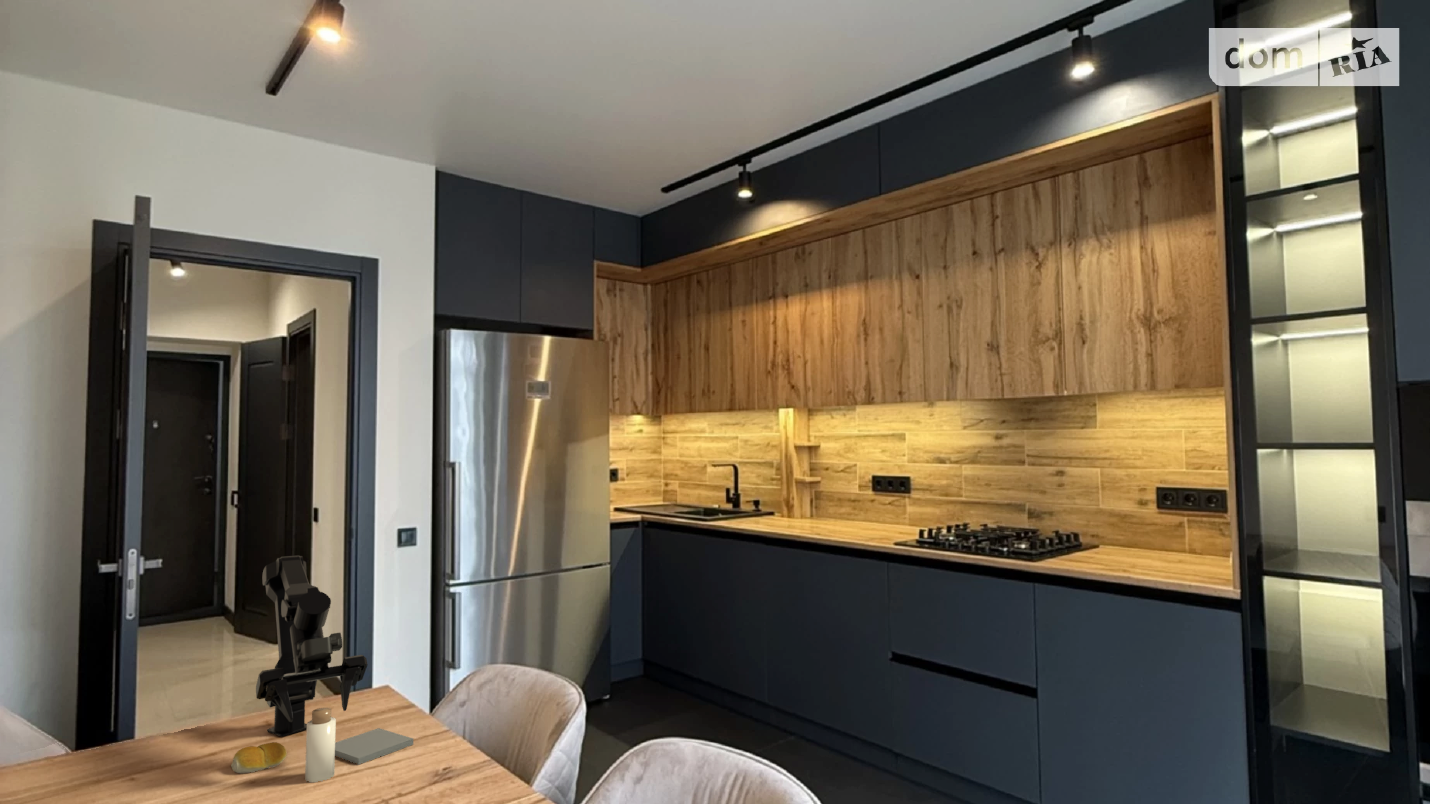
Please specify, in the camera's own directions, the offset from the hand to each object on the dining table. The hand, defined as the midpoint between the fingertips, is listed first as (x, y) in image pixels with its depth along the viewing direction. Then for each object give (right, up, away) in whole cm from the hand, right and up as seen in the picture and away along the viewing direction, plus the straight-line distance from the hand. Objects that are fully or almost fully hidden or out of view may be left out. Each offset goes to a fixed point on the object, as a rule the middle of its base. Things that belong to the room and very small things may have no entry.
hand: (318, 715), depth 141 cm
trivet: (+4, -11, +11) cm, 16 cm away
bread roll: (-14, -11, +3) cm, 18 cm away
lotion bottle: (+2, -10, -3) cm, 11 cm away
